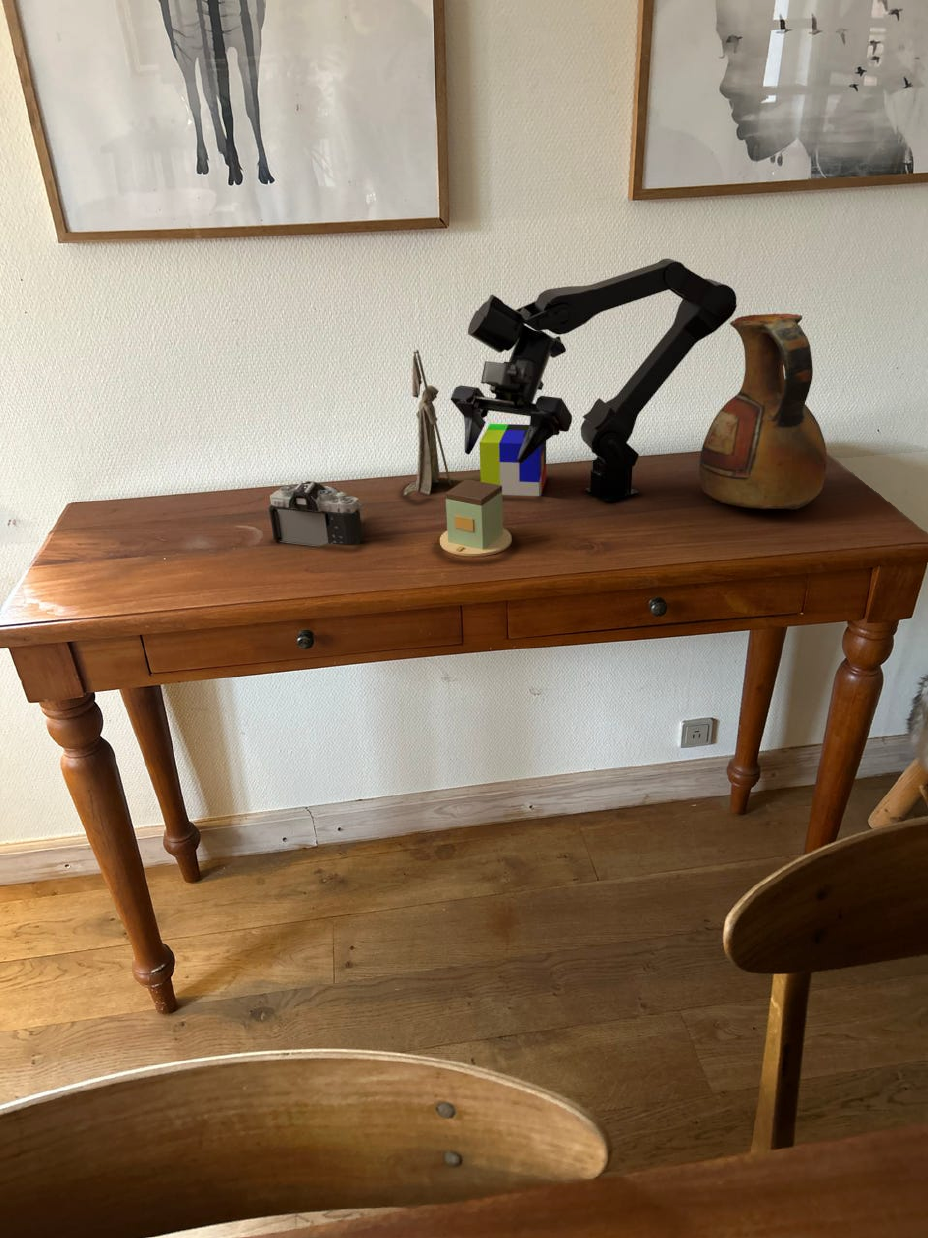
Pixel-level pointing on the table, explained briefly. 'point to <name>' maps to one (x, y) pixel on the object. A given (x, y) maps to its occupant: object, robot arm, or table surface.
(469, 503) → the box
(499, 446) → the puzzle toy
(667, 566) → the table surface
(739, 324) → the ceramic pitcher
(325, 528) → the camera
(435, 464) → the wizard figurine
